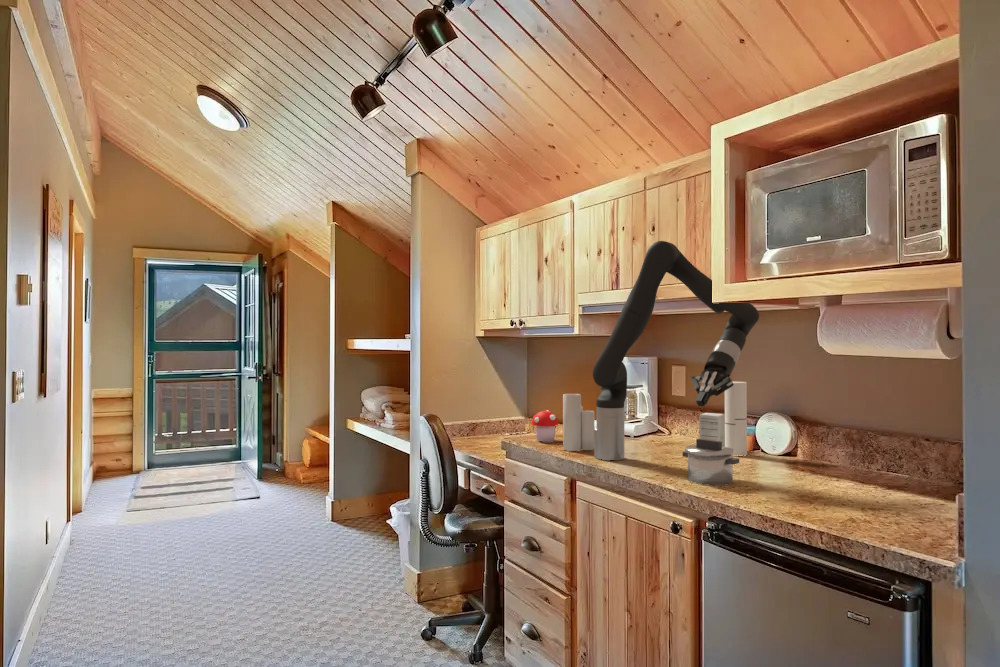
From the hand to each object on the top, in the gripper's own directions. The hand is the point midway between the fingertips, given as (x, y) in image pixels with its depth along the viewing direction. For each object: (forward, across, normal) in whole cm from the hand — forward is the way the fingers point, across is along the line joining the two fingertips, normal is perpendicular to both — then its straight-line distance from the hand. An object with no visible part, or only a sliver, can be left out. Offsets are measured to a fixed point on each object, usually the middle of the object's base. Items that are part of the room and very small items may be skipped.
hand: (699, 404), depth 179 cm
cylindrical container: (-18, -16, +50) cm, 55 cm away
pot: (+12, 0, +19) cm, 22 cm away
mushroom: (+1, -81, +30) cm, 86 cm away
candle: (+5, -59, +26) cm, 65 cm away
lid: (+7, 0, +13) cm, 15 cm away
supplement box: (-22, -28, +53) cm, 64 cm away
